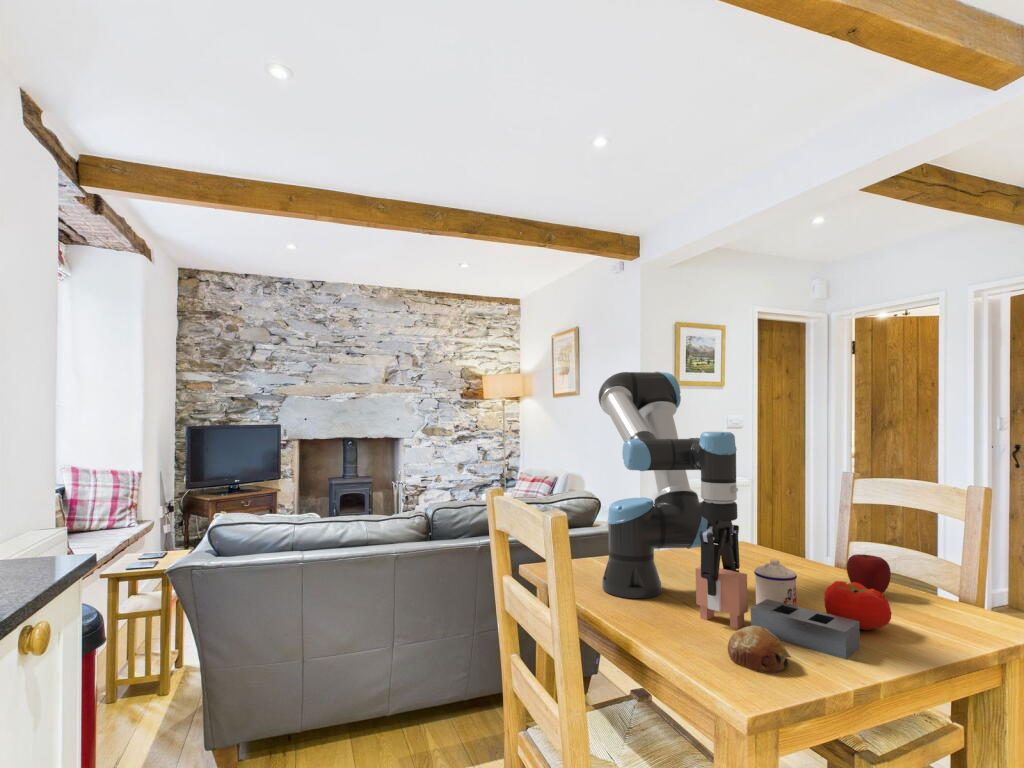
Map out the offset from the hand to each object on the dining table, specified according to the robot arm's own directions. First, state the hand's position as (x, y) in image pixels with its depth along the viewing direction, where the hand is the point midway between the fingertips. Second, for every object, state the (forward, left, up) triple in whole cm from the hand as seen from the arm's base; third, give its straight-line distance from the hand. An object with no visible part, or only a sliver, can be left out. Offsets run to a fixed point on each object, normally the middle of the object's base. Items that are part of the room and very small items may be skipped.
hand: (721, 606), depth 124 cm
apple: (+16, +45, -4) cm, 48 cm away
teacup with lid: (+5, +17, -4) cm, 18 cm away
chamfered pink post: (0, 0, -3) cm, 3 cm away
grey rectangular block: (+16, +3, -3) cm, 17 cm away
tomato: (+21, +19, -4) cm, 28 cm away
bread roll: (+14, -14, -4) cm, 20 cm away
